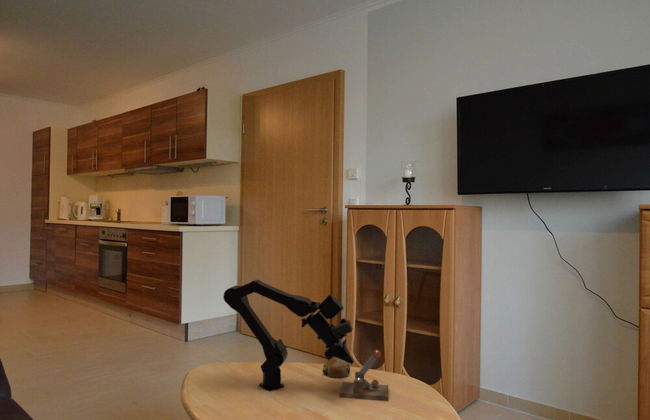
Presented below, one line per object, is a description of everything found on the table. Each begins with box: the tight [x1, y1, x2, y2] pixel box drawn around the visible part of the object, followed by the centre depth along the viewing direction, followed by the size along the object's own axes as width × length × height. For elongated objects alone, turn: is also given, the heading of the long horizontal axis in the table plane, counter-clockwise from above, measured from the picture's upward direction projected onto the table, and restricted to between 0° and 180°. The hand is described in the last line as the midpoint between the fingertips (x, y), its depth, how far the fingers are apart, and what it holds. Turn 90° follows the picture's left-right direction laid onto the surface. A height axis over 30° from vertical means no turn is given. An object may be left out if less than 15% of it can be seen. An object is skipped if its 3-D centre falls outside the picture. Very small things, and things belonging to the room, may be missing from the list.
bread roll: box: [322, 357, 351, 379], centre depth 173 cm, size 10×10×8 cm
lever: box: [354, 349, 382, 388], centre depth 155 cm, size 6×6×13 cm
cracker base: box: [339, 371, 389, 402], centre depth 155 cm, size 16×10×6 cm, turn 82°
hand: (352, 362), depth 156 cm, fingers closed
